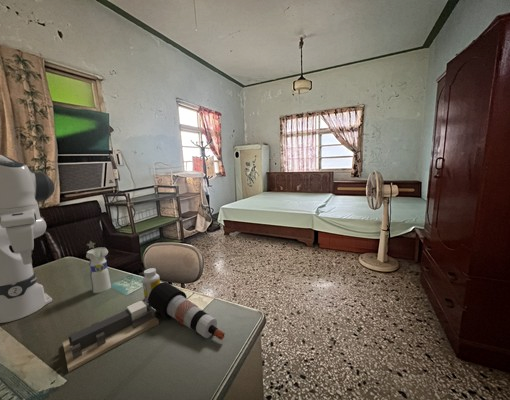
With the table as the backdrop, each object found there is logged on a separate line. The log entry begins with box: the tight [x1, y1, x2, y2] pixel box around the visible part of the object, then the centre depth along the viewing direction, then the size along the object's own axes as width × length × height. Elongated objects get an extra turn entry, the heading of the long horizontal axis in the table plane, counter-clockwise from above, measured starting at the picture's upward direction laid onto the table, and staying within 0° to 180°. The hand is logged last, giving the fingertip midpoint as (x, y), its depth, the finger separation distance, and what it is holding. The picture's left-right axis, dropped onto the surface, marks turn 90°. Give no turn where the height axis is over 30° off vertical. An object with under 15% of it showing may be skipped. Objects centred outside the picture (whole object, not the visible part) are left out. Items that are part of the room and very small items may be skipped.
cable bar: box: [70, 300, 147, 350], centre depth 73 cm, size 5×21×5 cm, turn 136°
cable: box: [147, 281, 226, 341], centre depth 77 cm, size 10×34×10 cm, turn 53°
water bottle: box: [85, 240, 112, 294], centre depth 102 cm, size 8×9×25 cm
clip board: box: [62, 300, 160, 373], centre depth 73 cm, size 14×25×4 cm, turn 136°
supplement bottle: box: [141, 267, 161, 303], centre depth 93 cm, size 7×7×13 cm
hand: (28, 259), depth 67 cm, fingers open, 8 cm apart
